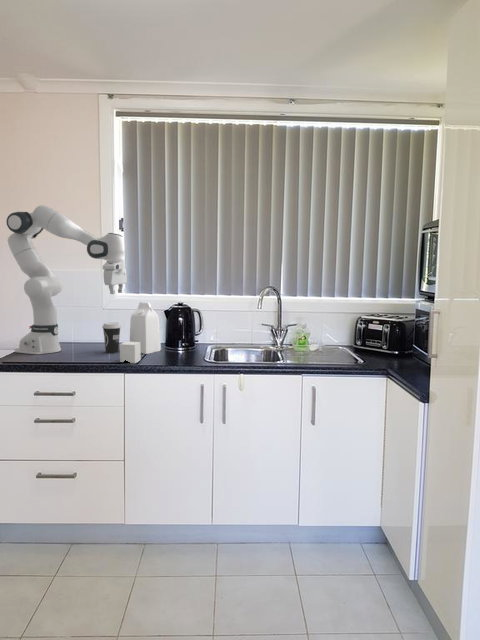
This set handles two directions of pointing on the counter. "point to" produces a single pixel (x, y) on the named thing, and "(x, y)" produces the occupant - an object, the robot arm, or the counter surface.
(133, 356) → the white block
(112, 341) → the coffee cup
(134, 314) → the milk
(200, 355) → the counter surface
